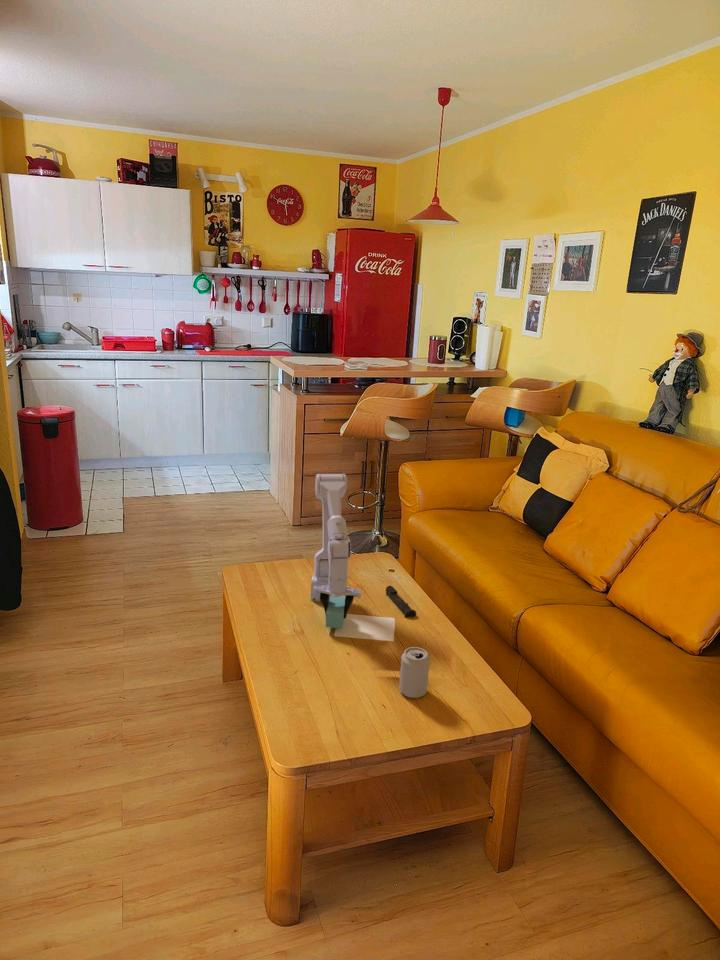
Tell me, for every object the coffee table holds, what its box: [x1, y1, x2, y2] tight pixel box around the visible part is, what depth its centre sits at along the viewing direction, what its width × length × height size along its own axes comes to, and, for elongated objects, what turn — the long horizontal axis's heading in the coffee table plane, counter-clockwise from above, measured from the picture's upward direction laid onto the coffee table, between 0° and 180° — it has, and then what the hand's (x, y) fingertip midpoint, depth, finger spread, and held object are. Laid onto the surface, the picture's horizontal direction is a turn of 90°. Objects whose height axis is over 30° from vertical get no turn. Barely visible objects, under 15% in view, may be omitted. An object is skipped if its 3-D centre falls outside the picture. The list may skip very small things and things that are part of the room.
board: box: [334, 613, 396, 642], centre depth 205 cm, size 18×14×2 cm
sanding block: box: [325, 595, 346, 629], centre depth 204 cm, size 5×11×5 cm, turn 175°
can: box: [398, 646, 431, 699], centre depth 175 cm, size 8×8×12 cm
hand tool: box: [385, 585, 417, 618], centre depth 221 cm, size 19×4×5 cm, turn 20°
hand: (336, 615), depth 205 cm, fingers closed on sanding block, 5 cm apart
